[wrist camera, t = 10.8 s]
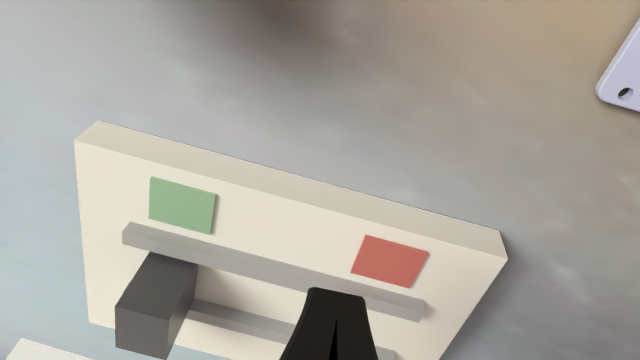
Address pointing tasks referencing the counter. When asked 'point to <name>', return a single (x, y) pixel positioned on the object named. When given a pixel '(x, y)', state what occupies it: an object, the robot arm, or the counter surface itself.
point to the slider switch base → (271, 247)
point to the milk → (40, 352)
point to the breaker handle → (155, 305)
